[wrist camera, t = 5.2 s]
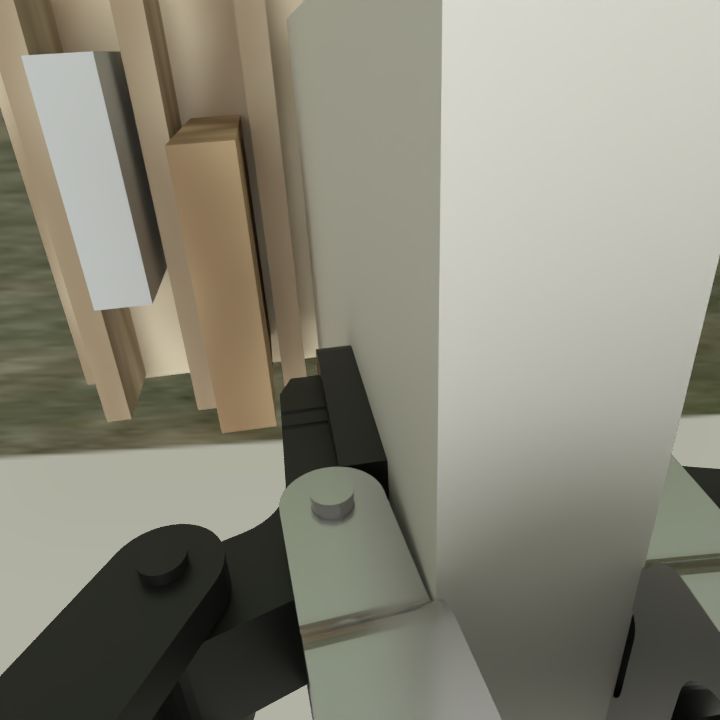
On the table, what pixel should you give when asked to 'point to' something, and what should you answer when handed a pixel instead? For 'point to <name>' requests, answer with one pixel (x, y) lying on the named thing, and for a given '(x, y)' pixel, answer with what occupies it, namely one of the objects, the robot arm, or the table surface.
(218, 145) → the offcut oak
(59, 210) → the rack
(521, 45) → the sheet
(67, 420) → the table surface
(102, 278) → the offcut grey
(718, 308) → the table surface
